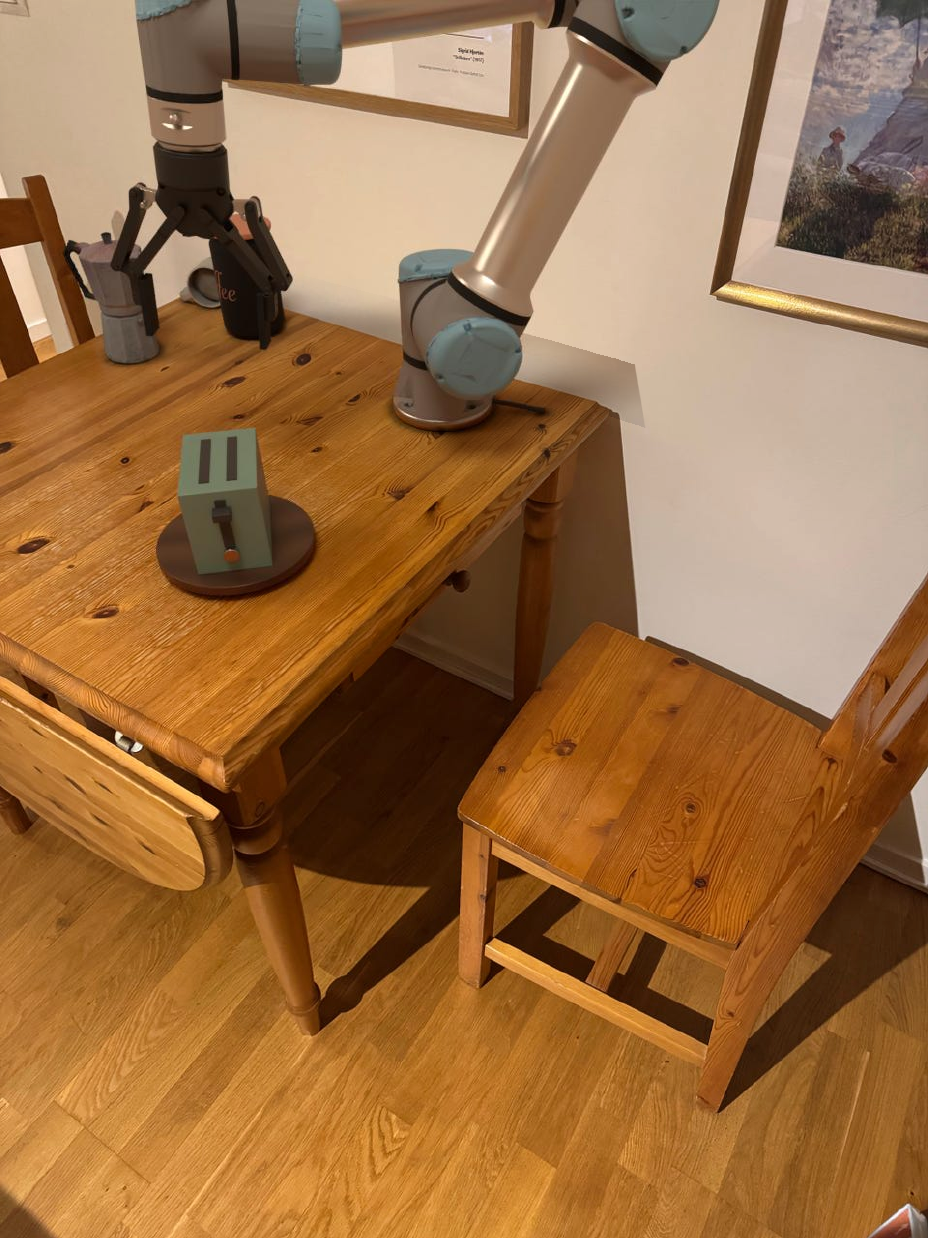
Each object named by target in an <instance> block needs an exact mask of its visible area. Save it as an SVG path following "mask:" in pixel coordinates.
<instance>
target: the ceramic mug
mask: <svg viewBox="0 0 928 1238" xmlns="http://www.w3.org/2000/svg"><path fill="white" fill-rule="evenodd" d="M178 295H179V297H180V298H181V300H182V301H183V302H187V301H191V300H193V301H195V302H196V303H197V305H200V306H202V307H205V308H209V309H215V308H219V307H221V305H220V299H219V294H218V289H217V284H216V279H215V274H214V269H213V264H212V259H211V256H208V257H206V258H204V259H202V260H201V261H200V262H199V263H198V264H197V265H195V267H193V268H192V269H191V270H190V272H189V273H188V275H187V279H186V286H185V287H184V288H183V289H182V290H181V291H180V292H179V294H178Z"/></svg>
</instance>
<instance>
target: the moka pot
mask: <svg viewBox="0 0 928 1238" xmlns="http://www.w3.org/2000/svg"><path fill="white" fill-rule="evenodd" d="M100 237H101V239H102V240H100V241H96V242H93V243H90V244H89V243H88V242H84V241H81V242H77V241H75V240H72V239H68V240H67V242H66V245H65V246H64V250H62V256H63V258H64V261H65V263H66V264H67V266H68V269H69V270H70V272H71V273H72V275H73V277H74V278H75V280H76V282H77V284H78V286H79V288H80V290H81V292H82V293H83V296H84V298H86V299H88V300H92V301H96V302H97V303H98V306H99V310H100V311H101V312H100V320H101V329H102V336H103V347H104V354H105V356H106V357H107V358H108V359H109V360H111V361H113V362H115V363H121V364H139V363H143V362H147V361H149V360H152V359H153V358H155V357H156V356H157V355H158V354H159V353H160V348H161V346H160V343H159V339H158V337H157V334H156V333H155V334H154V335H153V336H146V333H145V326H144V319H143V312H142V306H140V305H135V303H134V301H133V295H132V290H131V283H130V279H129V277H128V276H127V275H126V274H125V273H123V272H120V271H118V272H116V271H114V270H113V269H112V268H111V266H110V264H111V261H112V258H113V255H114V252H115V249H116V246H117V243H118V240H119V239H112V233H111V232H108V231H105V232H101V233H100ZM142 251H143V250H142V248H141V245H139V244H137V243H135V245H134V248H133V250H132V253H131V256H130V259H131V260H133V261H135V260H136V259H137V257H138V256H139V255H140V253H141V252H142ZM72 253H75V254H76V255H78V259H79V262H80V264H81V267H82V269H83V272H84V275H85V278H86V280H87V282H88V285H89V287H90V290H91V291H89V288H88V287H87V286H86V284H85V283H84V280H83V277H82V275H81V274H80V273H79V269H78V268H77V266H76V263H75V262H74V260H73V258H72V256H71V254H72Z"/></svg>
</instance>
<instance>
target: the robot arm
mask: <svg viewBox="0 0 928 1238" xmlns="http://www.w3.org/2000/svg"><path fill="white" fill-rule="evenodd" d="M720 1H721V0H134V7H135V9H134V10H135V20H136V28H137V35H138V41H139V42H138V43H139V49H140V56H141V57H140V58H141V64H142V72H143V78H144V85H145V86H144V87H145V95H146V103H147V104H146V105H147V111H148V119H149V127H150V134H151V136H152V138H154V139H155V140H156V141H155V143H154V144H153V146H152V152H153V160H154V167H155V168H154V169H155V177H156V181H157V187H156V188H157V189H155V188H151V187H147V185H146V184H145V183H144V182H142V181H139V182H137V183H136V184H135V185H133V186H132V187H131V188H129V190H128V211H127V214H126V217H125V220H124V223H123V226H122V229H121V231H120V235H119V237H118V239H117V240H118V243H117V246H116V249H115V252H114V255H113V258H112V261H111V264H110V266H111V268H112V269H113V270H114V271H116V272H118V271H120V272H123V273H125V274H126V275H127V276H128V277H129V279H130V283H131V290H132V295H133V301H134V303H135V305H140V306H142V312H143V319H144V326H145V333H146V336H153V335H154V334H156V333H157V331H158V330H159V329H160V319H159V313H158V306H157V300H156V299H157V298H156V291H155V284H154V275H153V273H152V272H145V270H147V268H148V266H149V265H150V264H151V263H152V261H153V260H154V259H155V257H156V256H157V255H158V254H159V252H160V251H161V250H162V248H163V247H164V246H165V244H166V243H167V242H168V240H169V239H170V238H171V236H172V235H173V234H174V233H175V231H177V233H179V234H180V235H182V237H185V238H192V237H197V238H200V239H202V240H208V241H209V240H210V239H211V238H214V237H216V238H217V239H218V240H219V241H220V243H221V244H222V245H223V246H226V247H227V248H228V249H229V251H230V252H231V253H232V254H233V256H234V257H235V258H236V259H237V260H238V262H239V263H240V264H241V265H242V267H243V268H244V269H245V270H246V271H247V273H248V274H249V275H250V276H251V278H252V279H253V280H254V281H255V282H256V284H257V285H258V286H259V287H260V291H259V292H258V294H257V311H258V328H259V340H258V341H259V343H258V344H259V350H261V351H262V350H263V351H267V349H268V348H269V345H270V344H271V342H272V337H271V328H270V321H274V320H275V319H276V317H277V314H278V299H277V292H279V291H281V292H287V291H288V290H289V288H290V287H291V285H292V283H293V281H294V277H293V275H292V273H291V271H290V269H289V267H288V265H287V264H286V261H285V259H284V257H283V255H282V253H281V251H280V249H279V247H278V245H277V243H276V241H275V239H274V237H273V234H272V233H271V230H270V231H269V229H268V227H267V225H266V223H265V221H264V219H263V216H264V215H263V208H262V202H261V199H260V198H259V196H256V195H252V196H251V197H250V198H236V199H235V198H234V197H233V196H234V195H232V191H231V182H230V181H231V179H230V168H229V156H228V149H227V147H226V146H225V145H224V144H223V143H224V142H225V141H226V140H227V127H226V126H227V125H226V114H225V103H224V102H225V101H224V90H223V80H231V81H249V82H262V83H263V82H264V83H275V84H276V83H278V84H291V85H300V86H301V85H302V86H303V87H305V88H307V87H311V86H330V85H334V84H335V83H337V81H338V80H339V79H340V75H341V73H342V65H343V50H346V49H353V48H354V49H355V48H360V47H366V46H372V45H379V44H387V43H393V42H399V41H406V40H412V39H419V38H426V37H433V36H434V37H435V36H439V35H445V34H446V35H447V34H453V33H459V32H465V31H473V30H480V29H485V28H493V27H500V26H506V25H512V24H520V23H526V22H532V23H533V24H534V25H535V26H536V27H537V28H538V29H539V30H548V29H554V28H566V31H565V38H566V43H567V48H568V58H567V61H566V62H565V64H564V67H563V68H562V70H561V73H560V75H559V77H558V78H557V81H556V83H555V85H554V87H553V89H552V91H551V93H550V95H549V98H548V99H547V102H546V103H545V105H544V108H543V109H542V112H541V114H540V116H539V118H538V120H537V122H536V124H535V125H534V128H533V130H532V132H531V134H530V136H529V138H528V140H527V142H526V145H525V147H524V149H523V151H522V153H521V155H520V157H519V159H518V161H517V163H516V165H515V167H514V169H513V171H512V173H511V176H510V177H509V180H508V182H507V184H506V186H505V187H504V190H503V192H502V194H501V196H500V198H499V200H498V202H497V204H496V206H495V208H494V210H493V212H492V214H491V217H490V218H489V220H488V223H487V225H486V227H485V228H484V230H483V232H482V235H481V237H480V239H479V240H478V243H477V245H476V247H475V249H474V251H470V250H466V249H459V248H435V249H427V250H420V251H416V252H413V253H410V254H407V255H406V256H404V257H403V258H402V259H401V260H400V262H399V265H398V278H397V284H398V291H399V292H398V293H399V307H400V327H401V343H402V344H401V345H402V362H401V367H400V370H399V374H398V377H397V381H396V384H395V388H394V391H393V396H392V399H393V410H394V413H395V415H396V417H398V418H399V420H401V421H402V422H403V423H405V424H407V425H409V426H412V427H415V428H418V429H421V430H427V431H434V432H435V431H436V432H446V431H447V432H448V431H449V432H451V431H456V430H457V431H458V430H463V429H467V428H470V427H472V426H473V427H474V426H475V425H477V424H480V423H481V422H482V421H484V420H486V419H487V418H488V417H489V415H490V414H491V413H492V410H493V405H498V406H504V407H510V408H515V409H521V410H524V411H530V412H534V413H544V414H545V413H546V411H547V408H546V407H541V406H535V405H529V404H525V403H519V402H515V401H510V400H504V399H498V398H493V397H494V396H496V395H497V394H500V393H501V392H502V391H504V390H505V389H506V388H507V387H508V386H509V385H510V384H512V382H513V381H514V380H515V378H516V376H517V375H518V373H519V372H520V370H521V366H522V363H523V346H522V341H521V337H522V335H523V333H524V332H525V330H526V328H527V326H528V324H529V323H530V320H531V319H532V316H533V314H534V308H533V303H532V300H531V299H532V298H531V295H532V291H533V290H534V288H535V286H536V284H537V282H538V280H539V278H540V276H541V275H542V272H543V270H544V269H545V267H546V265H547V263H548V261H549V259H550V258H551V256H552V254H553V252H554V250H555V248H556V246H557V245H558V243H559V241H560V239H561V237H562V235H563V234H564V231H565V230H566V229H567V228H566V227H567V226H568V224H569V222H570V221H571V218H572V216H573V214H574V212H575V211H576V210H577V208H578V205H579V204H580V203H581V202H580V201H581V200H582V198H583V196H584V194H585V192H586V190H587V189H588V187H589V185H590V183H591V181H592V179H593V178H594V176H595V174H596V172H597V170H598V168H599V166H600V164H601V163H602V161H603V159H604V157H605V155H606V153H607V152H608V149H609V147H610V146H611V144H612V142H613V141H614V138H615V136H616V135H617V132H618V131H619V129H620V127H621V126H622V123H623V122H624V120H625V118H626V116H627V114H628V112H629V110H630V108H631V107H632V105H633V103H634V101H635V100H636V99H637V98H638V97H640V96H642V95H646V94H647V93H650V92H653V91H656V89H657V87H658V86H659V84H660V82H661V80H662V78H663V77H664V75H665V73H666V71H667V69H668V68H669V66H670V64H671V62H672V61H674V60H677V59H680V58H682V57H683V56H684V55H687V54H689V53H690V52H691V51H693V50H694V49H695V48H696V47H697V46H698V45H699V44H700V43H701V42H702V41H703V39H704V38H705V37H706V35H707V34H708V32H709V31H710V29H711V27H712V25H713V23H714V20H715V19H716V15H717V12H718V10H719V6H720ZM154 203H155V204H156V206H157V207H158V208H159V209H160V211H161V213H162V214H163V215H164V216H165V217H166V218H165V219H164V221H163V222H162V224H161V225H160V226H159V228H158V229H157V230H156V232H155V233H154V234H153V236H152V237H151V239H150V240H149V241H148V242H147V244H146V245H145V247H144V248H143V249H142V250H141V251H142V252H141V253H140V255H139V256H138V257H137V259H136V260H135V261H133V260H131V259H130V256H131V253H132V250H133V248H134V245H135V244H136V241H137V239H138V236H139V233H140V230H141V228H142V225H143V222H144V220H145V217H146V214H147V210H149V209H150V208H152V206H153V204H154ZM236 212H237V214H240V216H241V218H242V220H243V221H246V222H247V225H248V228H249V230H250V233H251V235H252V236H253V238H254V240H255V242H256V244H257V246H258V248H259V250H260V252H261V254H262V256H263V258H264V260H265V262H266V264H267V266H268V268H269V270H270V271H269V270H268V269H267V267H266V266H265V265H264V264H263V262H262V261H261V260H260V259H259V257H258V256H257V255H256V254H255V252H254V251H253V250H252V249H251V247H250V246H249V245H248V244H247V242H246V241H245V240H244V239H243V237H242V236H241V235H240V233H239V230H238V229H237V227H236V226H235V225H234V223H233V222H232V221H231V220H230V217H231V216H232V215H233V214H234V213H236Z"/></svg>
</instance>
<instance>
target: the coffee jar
mask: <svg viewBox="0 0 928 1238" xmlns="http://www.w3.org/2000/svg"><path fill="white" fill-rule="evenodd" d="M263 219H264V221H265V223H266V225H267V227H268V229H269V231H270V232H271V229H272V222H271V220H270V219H269V218H268V217H266V216H264V215H263ZM230 220H231V221H232V222H233V223H234V225H235V226H236V227H237V229H238V230H239V233H240V235H241V236H242V237H243V239H244V240H245V241H246V242H247V244H248V245H249V246H250V247H251V249H252V250H253V251H254V252H255V254H256V255H257V256H258V257H259V259H260V260H261V261H262V262H263V264H264V265H265V266H266V267H267V269H268V270H269V268H268V266H267V264H266V262H265V260H264V258H263V256H262V254H261V252H260V250H259V248H258V246H257V244H256V242H255V240H254V238H253V236H252V235H251V233H250V230H249V228H248V225H247V222H246V221H243V220H242V218H241V216H240V214H239V213H235V214H234V213H233V214H232V216H231V217H230ZM208 248H209V254H210V257H211V259H212V264H213V269H214V274H215V279H216V284H217V289H218V294H219V299H220V305H221V306H220V309H221V314H222V319H223V324H224V327H225V329H226V331H227V332H228V333H230V335H231V337H234V338H236V339H239V340H244V341H259V328H258V311H257V294H258V292H259V291H260V287H259V286H258V285H257V284H256V282H255V281H254V280H253V279H252V278H251V276H250V275H249V274H248V273H247V271H246V270H245V269H244V268H243V267H242V265H241V264H240V263H239V262H238V260H237V259H236V258H235V257H234V256H233V254H232V253H231V252H230V251H229V249H228V248H227V247H226V246H223V245H222V244H221V243H220V241H219V240H218V239H217V238H216V237H214V238H211V239H210V240H209V239H208ZM269 271H270V270H269ZM277 299H278V314H277V317H276V319H275V320H274V321H270V328H271V338H272V337H274V336H276V335H278V334H280V332H281V331H282V330H283V327H284V326H285V323H286V316H285V310H284V309H285V307H284V302H283V295H282V291H279V292H277Z"/></svg>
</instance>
